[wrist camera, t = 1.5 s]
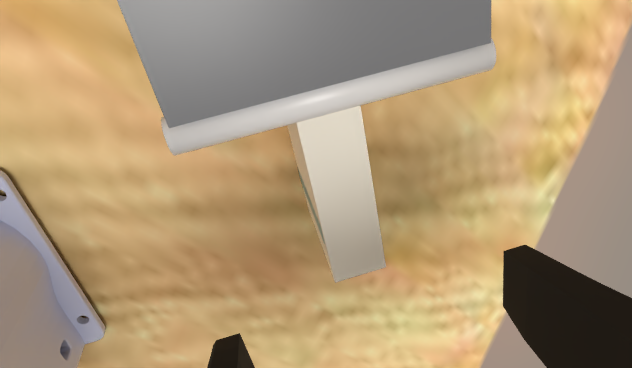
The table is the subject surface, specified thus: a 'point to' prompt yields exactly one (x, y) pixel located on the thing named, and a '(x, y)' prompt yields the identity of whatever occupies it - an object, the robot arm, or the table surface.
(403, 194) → the table surface
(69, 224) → the table surface
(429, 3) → the dispenser
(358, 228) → the cream rectangular block
